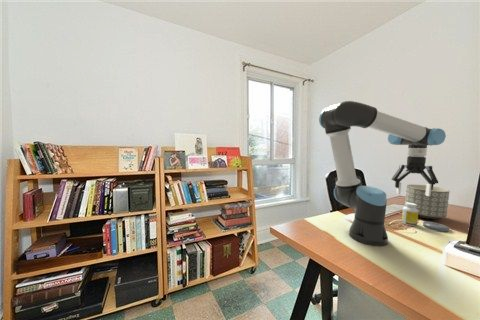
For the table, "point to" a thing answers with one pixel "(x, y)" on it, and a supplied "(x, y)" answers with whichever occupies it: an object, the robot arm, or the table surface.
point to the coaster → (436, 226)
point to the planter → (428, 201)
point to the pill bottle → (410, 214)
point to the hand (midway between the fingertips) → (412, 194)
